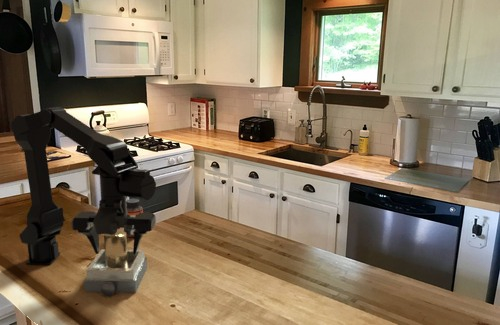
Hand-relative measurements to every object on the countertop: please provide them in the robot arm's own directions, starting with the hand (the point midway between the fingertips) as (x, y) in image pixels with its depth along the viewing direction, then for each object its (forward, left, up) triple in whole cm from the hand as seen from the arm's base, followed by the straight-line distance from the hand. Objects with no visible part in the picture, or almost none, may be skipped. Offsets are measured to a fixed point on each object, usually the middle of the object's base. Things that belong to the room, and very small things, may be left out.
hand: (116, 253), depth 101 cm
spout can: (0, 0, -4) cm, 4 cm away
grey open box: (0, 0, -7) cm, 7 cm away
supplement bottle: (-3, +28, -7) cm, 29 cm away
